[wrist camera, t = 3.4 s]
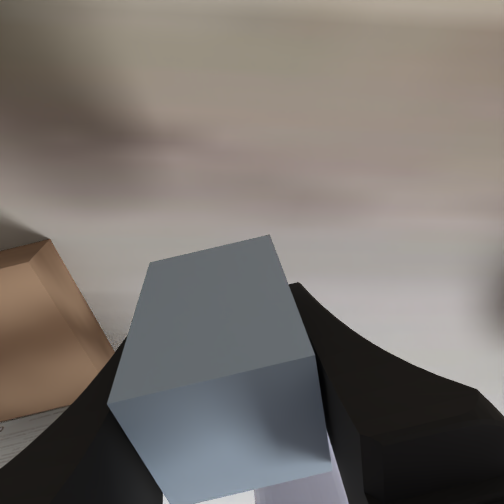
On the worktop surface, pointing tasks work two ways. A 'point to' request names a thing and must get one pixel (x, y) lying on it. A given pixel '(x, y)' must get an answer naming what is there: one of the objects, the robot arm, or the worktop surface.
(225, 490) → the slate block
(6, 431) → the supplement box
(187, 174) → the worktop surface
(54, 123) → the worktop surface
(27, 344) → the tan flat square block
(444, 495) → the robot arm
